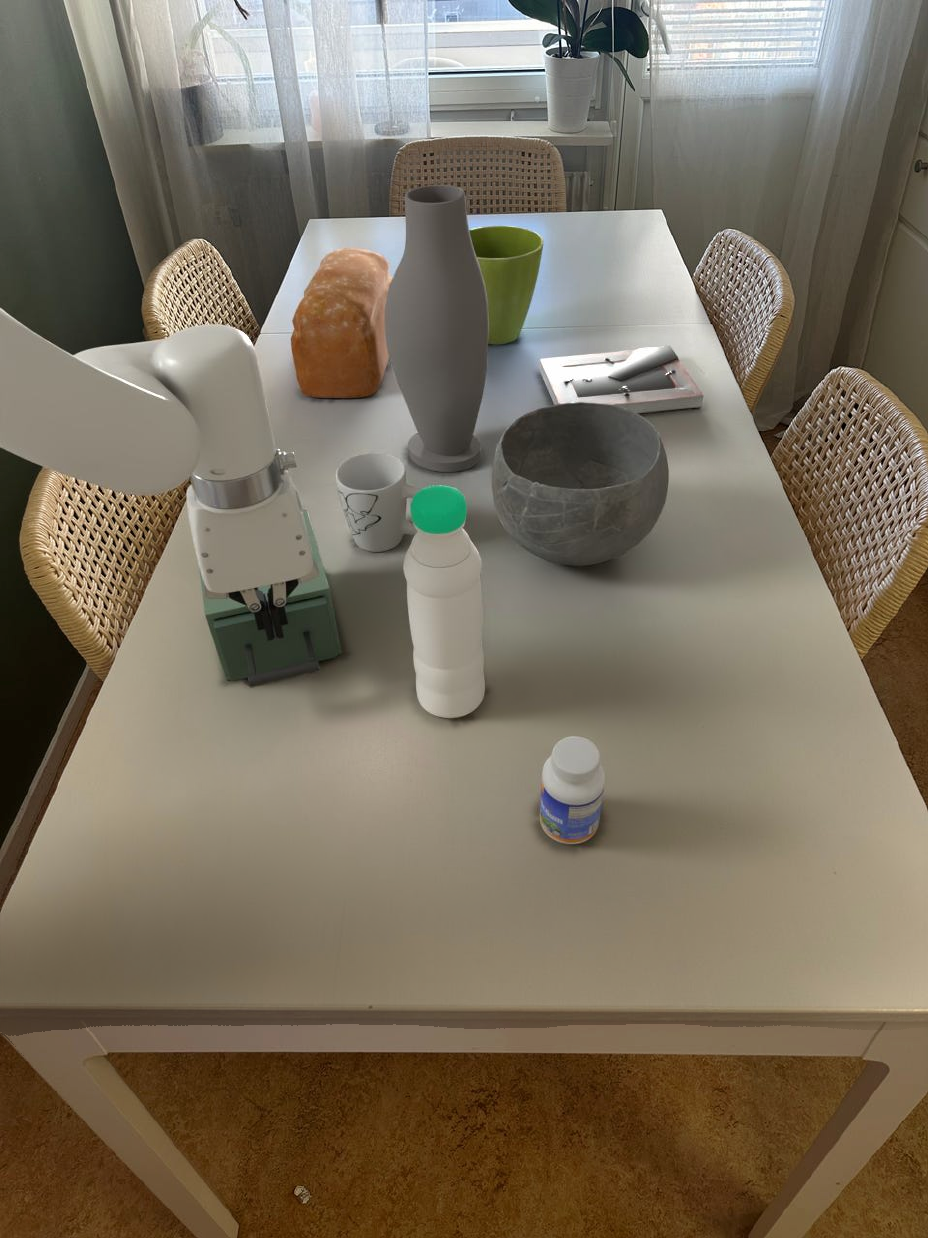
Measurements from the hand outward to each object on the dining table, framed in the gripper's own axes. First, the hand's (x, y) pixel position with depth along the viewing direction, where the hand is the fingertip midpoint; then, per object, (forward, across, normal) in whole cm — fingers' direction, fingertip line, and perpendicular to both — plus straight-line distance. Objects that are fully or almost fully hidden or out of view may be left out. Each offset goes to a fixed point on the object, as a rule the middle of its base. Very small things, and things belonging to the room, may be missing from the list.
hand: (274, 630), depth 86 cm
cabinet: (+8, 0, -10) cm, 13 cm away
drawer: (+7, 0, -6) cm, 9 cm away
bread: (+8, -20, -71) cm, 74 cm away
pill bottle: (+8, -22, +25) cm, 34 cm away
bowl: (+8, -38, -13) cm, 41 cm away
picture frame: (+8, -58, -47) cm, 75 cm away
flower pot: (+8, -46, -72) cm, 86 cm away
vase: (+8, -28, -38) cm, 48 cm away
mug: (+8, -16, -21) cm, 28 cm away
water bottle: (+8, -16, +7) cm, 19 cm away
